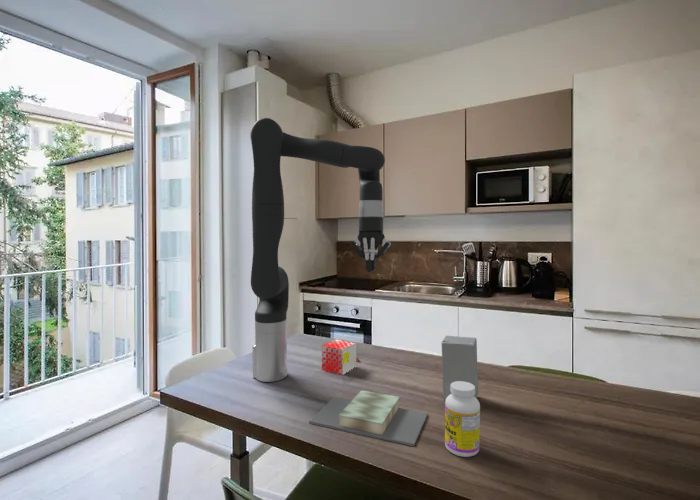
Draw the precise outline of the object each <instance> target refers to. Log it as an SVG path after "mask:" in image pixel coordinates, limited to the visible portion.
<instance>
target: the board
mask: <svg viewBox="0 0 700 500" xmlns="http://www.w3.org/2000/svg"><path fill="white" fill-rule="evenodd" d="M400 398H401V397H400V396H397V395H391V394H387V393H386V394H385V393H379V392H374V391H368V390H364V389H362V390H360V392H358V394H357V395H356V396H355V397H354V398H353V400H352V401H351V402H350V403H349V404H348V406H347V407H346V408H345V409H344V410H343V411H342V412H341V413H340V414H339V426H344V427H349V428H353V429H358V430H362V431H367V432H372V433H376V434H381V435H382V434H383V433H384V431H385V429H386V428H387V426H388V424H389V423H390V421H391V420H392V418H393V416H394V415H395V413H396V411H397V410H398V408H400V405H401V404H400V402H401V401H400V400H401V399H400Z"/></svg>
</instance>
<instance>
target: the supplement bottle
mask: <svg viewBox="0 0 700 500" xmlns="http://www.w3.org/2000/svg"><path fill="white" fill-rule="evenodd" d="M450 391H451V393H452V394H450V395H449V396H448V397H447V398H446V401H445V402H444V405H445V409H444V410H445V411H444V444H445V448H446V449H447V450H448V452H450V453H451V454H453V455H455V456H458V457H461V458H462V457H464V458H470V457H473V456H476V455H477V454H478V453H479V451H480V438H481V437H480V436H481V435H480V432H481V431H480V430H481V429H480V427H481V420H480V419H481V404H480V403H481V402H479V399H478V398H477V399H476V398H475V397H474V395H475V386H474V385H473V384H471V383H468V382H464V381H456V382H453V383H451V385H450Z"/></svg>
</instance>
